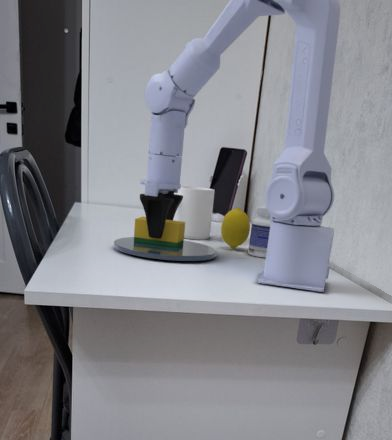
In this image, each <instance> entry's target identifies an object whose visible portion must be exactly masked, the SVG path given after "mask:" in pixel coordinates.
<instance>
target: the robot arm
mask: <svg viewBox="0 0 392 440" xmlns="http://www.w3.org/2000/svg"><path fill="white" fill-rule="evenodd" d="M285 14H288V15H289V17H290V18H291V19H292V20H293V21H294V22H295V26H296V27H295V38H294V45H293V46H294V47H293V48H294V50H293V59H292V67H291V78H290V87H289V88H290V89H289V96H288V97H289V99H288V108H287V119H286V128H285V137H284V139H285V140H284V149H283V151H282V153H281V154H279V156H278V157H277V159H276V160H275V162H274V163H273V165H272V174H271V177H270V180H269V181H268V183H267V185H266V187H265V191H264V204H265V207H266V208H267V210H268V212H269V213H270V214H271V215H270V220H271V225H270V232H269V239H268V246H267V253H266V258H265V261H264V266H263V267H264V268H263V270H262V272H261V274H260V276H259V278H258V279H257V283H258V284H264V285H271V286H279V287H286V288H291V289H299V290H306V291H313V292H320V293H324V291H325V286H326V281H327V280H328V279H329V274H330V266H329V265H330V259H331V253H332V248H333V242H334V235H335V228H334V227H330V226H323V225H322V223H323V218H324V217H325V216H326V215H327V214H328V213H329V212H330V210H331V209H332V207H333V205H334V202H335V191H334V187H333V184H332V166H331V164H330V162H329V160H328V158H327V156H326V155H325V146H326V145H325V144H326V136H327V128H328V121H329V120H328V119H329V113H330V111H329V110H330V103H331V97H332V96H331V95H332V86H333V78H334V69H335V61H336V53H337V46H338V45H337V44H338V36H339V29H340V28H339V27H340V19H341V4H340V2H339V0H229V1H228V3H227V4H226V6H225V7H224V8H223V10H222V11H221V13H220V15H218V17H217V19H215V21H214V22H213V24H212V25H211V27H210V28H209V30H208V31H207V33H206V34H205V36H204V37H201V38H200V37H195V38H193V39H191V41H190V40H189V41H188V42H186V44H185V45H184V49H183V51H182V52H181V53H180V54H179V55H178V57H177V58H176V59H175V61H174V62H173V63H172V64H171V66H169V67H168V69H166V70H163V71H162V72H161V73H155V74H153V75H152V76H151V77H150V79H149V80H148V82H147V84H146V86H145V91H144V101H145V105H146V107H147V109H148V110H149V111H150V129H149V140H148V142H149V143H148V157H147V173H146V179H140V180H139V185H144V193H140V194H139V201H140V203H141V205H142V207H143V211H144V215H145V217H146V220H147V227H148V234H149V237H152V238H159V239H160V238H161V237H162V234H163V231H164V226H165V221H166V220H173V219H174V216H175V213H176V211H177V208H178V206H179V204H180V203H181V201H182V199H183V196H182V195H176V194H174V193H178V189H180V188H181V186H182V185H181V176H182V175H181V173H182V163H183V162H182V161H183V152H184V139H185V129H186V128H187V126H188V123H189V121H188V120H189V116H190V114H191V113H192V112H193V110H194V107H195V104H196V98H195V97H196V96H197V94H198V93H199V92H201V90H202V89H203V88H204V86H206V85H207V84H208V82H209V81H210V80H211V79H212V78H213V76H214V75H215V74H216V73H217V72H218V71H219V70H220V67H221V56H222V55H223V53H224V52H225V51H227V49H229V47H230V46H231V45H232V44H233V43H234V42H235V41H236V40H238V38H240V36H241V35H242V34H243V33H244V32H245V31H246V30H248V28H249V27H250V26H251V25H252V24H253V23H254V22H255V21H256V20H257V19H258V18H259V17H267V16H281V15H285ZM194 98H195V99H194Z"/></svg>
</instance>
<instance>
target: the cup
mask: <svg viewBox="0 0 392 440" xmlns="http://www.w3.org/2000/svg"><path fill="white" fill-rule="evenodd" d="M174 194H176V195H182V196H183V199H182V201H181V203H180V204H179V206H178V208H177V211H176V213H175V216H174V219H173V220H174V221H181V222H185V232H184V240H185V239H187V240H195V241H196V240H197V241H201V240H203V241H204V240H208V239H209V238H210V235H211V229H212V218H213V212H214V211H213V210H214V200H215V189H213V188H209V187H208V188H207V187H202V186H201V187H200V186H191V185H181V188H180V189H178V193H174Z"/></svg>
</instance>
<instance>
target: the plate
mask: <svg viewBox="0 0 392 440" xmlns="http://www.w3.org/2000/svg"><path fill="white" fill-rule="evenodd" d="M113 248H114V249H115V250H117V251H118V252H121V253H125V254H128V255H130V256H136V257H141V258H147V259H155V260H165V261H177V262H199V261H200V262H201V261H208V260H213V259H215V258H216V257H217V254H218V253H217V249H216V248H214V247H212V246H209V245H207V244H203V243H200V242H194V241H191V240H190V241H189V240H184V242H183V245H181V246H179V247H170V246H162V245H155V244H148V243H140V242H134V236H130V237H129V236H128V237H121V238H117V239H115V240H113Z"/></svg>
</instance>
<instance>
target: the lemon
mask: <svg viewBox="0 0 392 440" xmlns="http://www.w3.org/2000/svg"><path fill="white" fill-rule="evenodd" d="M250 232H251V222H250V218H249V216H248V215H247V213H246V212H245V211H243V210H241V208H240V207H235V208H234V209H232V210H229V211H228V212H227V213H226V214H225V215H224V217H223V219H222V222H221V227H220V235H221V238H222V240H223V241H224V243H225V244H227V245H228V246H229V247H230V250H231V249H232V250H235V249H237V247H238V246H241V245H243V244H244V243H245V242H246V241H247V240H248V239H249V236H250Z"/></svg>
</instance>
